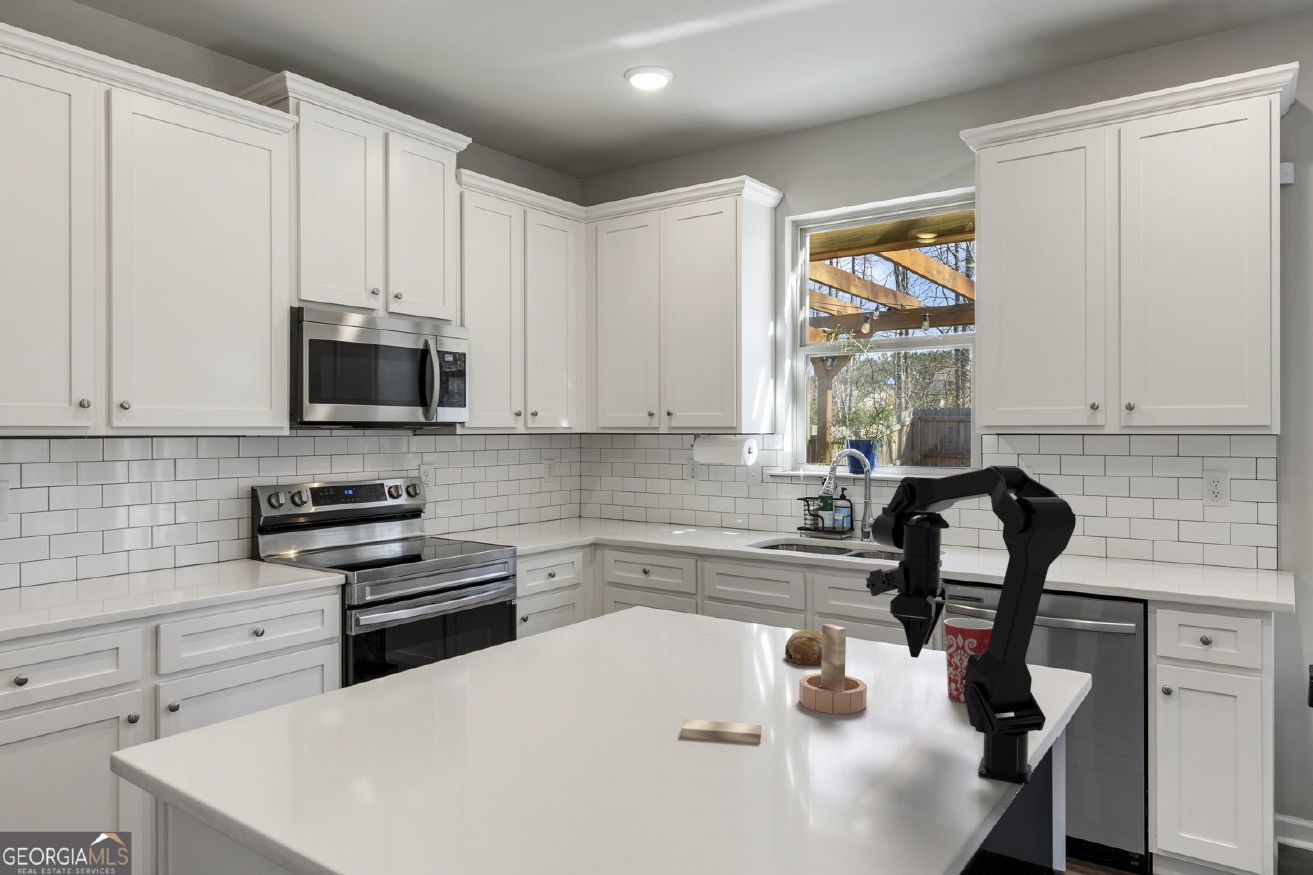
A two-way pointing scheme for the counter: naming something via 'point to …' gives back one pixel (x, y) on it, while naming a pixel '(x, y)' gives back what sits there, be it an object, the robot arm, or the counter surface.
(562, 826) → the counter surface
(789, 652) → the bread roll
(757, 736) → the light wooden flat block
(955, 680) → the mug
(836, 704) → the bowl
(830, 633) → the wooden pillar
